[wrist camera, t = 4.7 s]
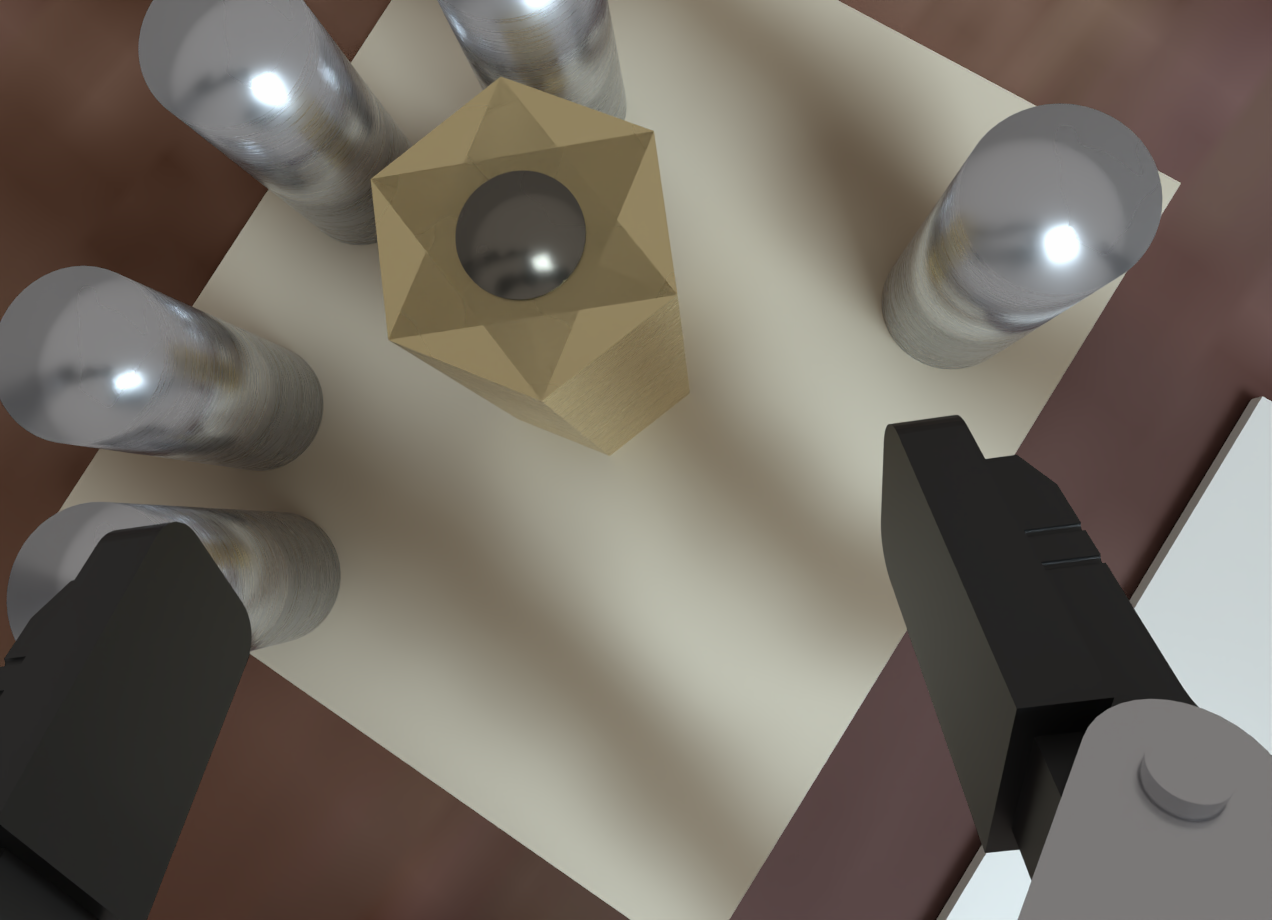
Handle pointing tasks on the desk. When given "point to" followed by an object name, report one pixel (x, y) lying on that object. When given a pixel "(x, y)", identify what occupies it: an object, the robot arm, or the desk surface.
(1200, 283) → the desk surface
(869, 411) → the board
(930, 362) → the posts
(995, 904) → the off-white mat
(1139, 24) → the desk surface
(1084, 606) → the robot arm
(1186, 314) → the desk surface
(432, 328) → the tan faceted block
